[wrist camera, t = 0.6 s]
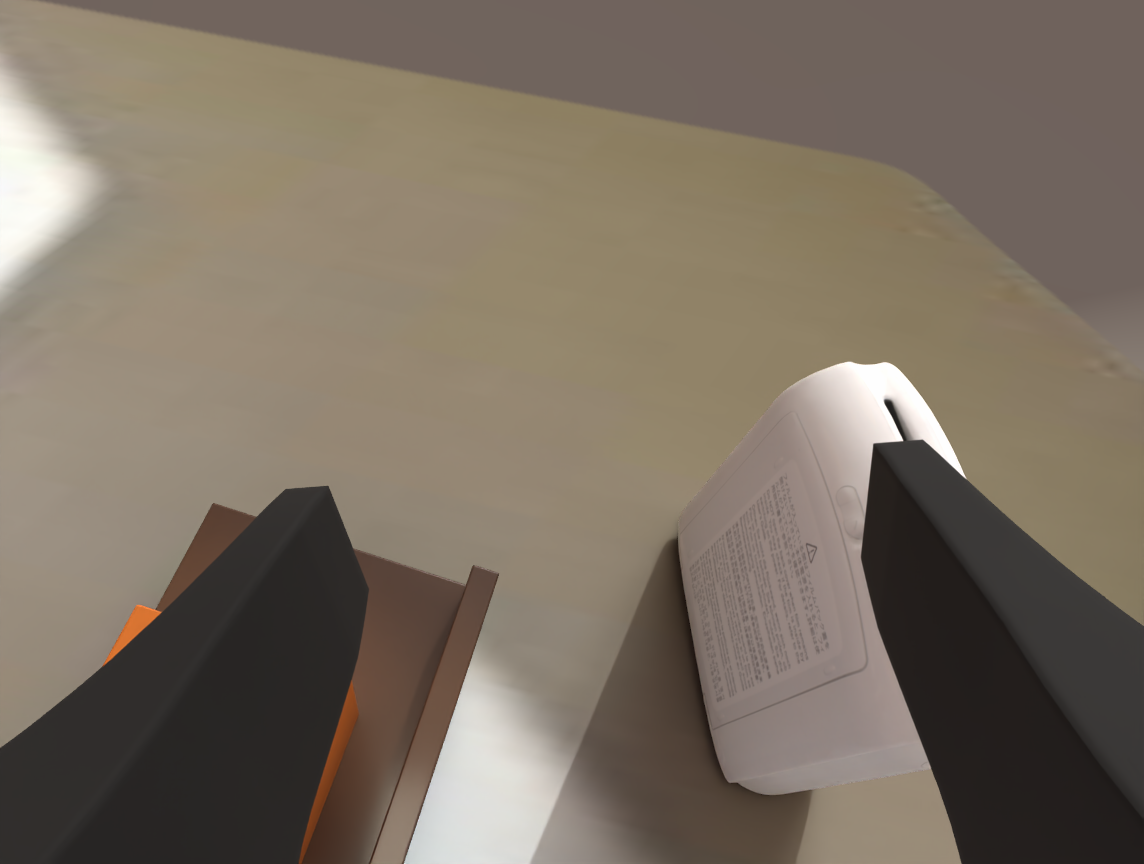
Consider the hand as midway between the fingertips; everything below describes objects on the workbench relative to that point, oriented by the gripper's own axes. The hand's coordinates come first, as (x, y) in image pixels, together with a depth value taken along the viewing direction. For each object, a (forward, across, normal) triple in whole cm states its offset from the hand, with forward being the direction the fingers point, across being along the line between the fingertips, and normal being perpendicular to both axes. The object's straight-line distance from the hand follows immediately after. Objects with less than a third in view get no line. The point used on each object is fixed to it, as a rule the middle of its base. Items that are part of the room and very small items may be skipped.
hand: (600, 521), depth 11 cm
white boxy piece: (+11, -3, +17) cm, 20 cm away
